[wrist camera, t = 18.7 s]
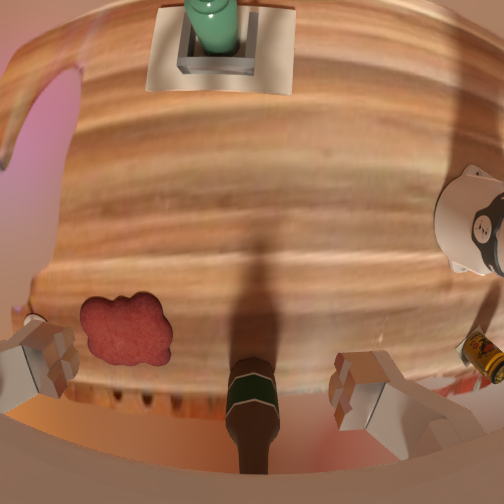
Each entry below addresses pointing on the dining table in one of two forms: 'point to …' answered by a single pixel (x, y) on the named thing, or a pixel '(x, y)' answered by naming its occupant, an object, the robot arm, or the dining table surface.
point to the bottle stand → (224, 68)
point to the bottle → (215, 25)
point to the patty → (127, 330)
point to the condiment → (482, 355)
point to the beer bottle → (252, 413)
